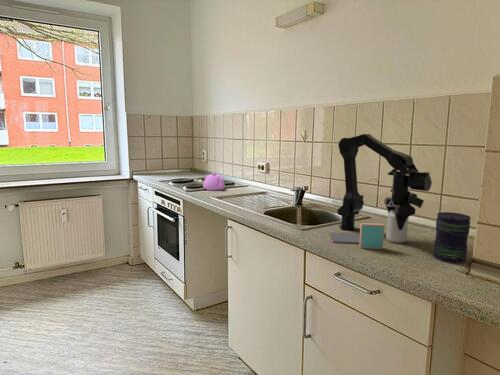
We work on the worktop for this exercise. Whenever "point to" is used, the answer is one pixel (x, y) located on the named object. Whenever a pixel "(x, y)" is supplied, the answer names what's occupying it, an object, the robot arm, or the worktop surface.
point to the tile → (371, 235)
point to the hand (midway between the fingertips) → (397, 227)
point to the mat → (345, 238)
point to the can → (396, 229)
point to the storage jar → (451, 237)
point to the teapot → (213, 182)
